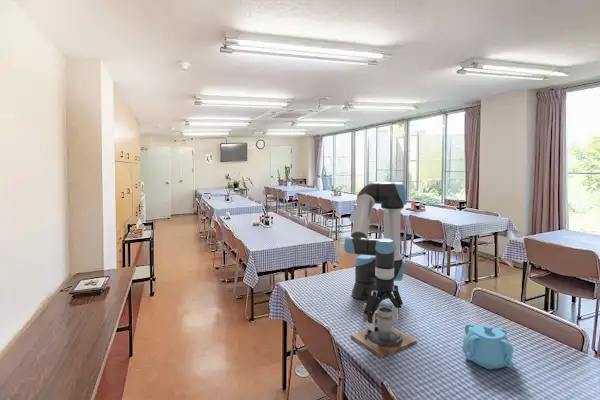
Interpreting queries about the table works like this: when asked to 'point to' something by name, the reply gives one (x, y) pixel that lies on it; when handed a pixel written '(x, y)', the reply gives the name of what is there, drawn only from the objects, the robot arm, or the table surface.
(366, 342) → the ring holder
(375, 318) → the bone
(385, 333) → the cup
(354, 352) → the table surface
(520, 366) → the table surface
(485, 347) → the decorative pot
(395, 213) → the robot arm
